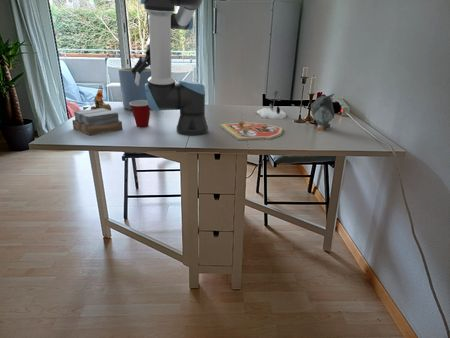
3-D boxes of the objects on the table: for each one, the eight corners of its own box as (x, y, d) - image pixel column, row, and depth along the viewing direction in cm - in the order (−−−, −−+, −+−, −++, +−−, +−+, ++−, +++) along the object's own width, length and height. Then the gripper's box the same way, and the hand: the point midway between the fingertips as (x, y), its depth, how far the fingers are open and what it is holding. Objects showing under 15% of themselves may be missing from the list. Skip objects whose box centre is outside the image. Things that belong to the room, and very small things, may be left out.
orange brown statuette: (105, 112, 178) (102, 88, 172) (118, 119, 163) (116, 93, 158) (90, 114, 173) (87, 89, 167) (103, 121, 158) (100, 94, 153)
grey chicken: (300, 127, 161) (305, 93, 154) (316, 123, 171) (321, 91, 164) (324, 133, 151) (330, 97, 145) (340, 129, 161) (346, 94, 154)
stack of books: (122, 129, 145) (121, 112, 142) (89, 135, 133) (87, 117, 130) (105, 123, 154) (103, 107, 151) (73, 128, 143) (70, 111, 140)
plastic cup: (126, 126, 150) (124, 102, 146) (141, 122, 159) (139, 99, 155) (143, 129, 146) (141, 104, 141) (157, 125, 155) (156, 101, 150)
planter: (159, 110, 188) (158, 71, 179) (121, 111, 182) (117, 70, 173) (157, 104, 208) (155, 68, 199) (122, 104, 202) (119, 67, 193)
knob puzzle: (217, 126, 159) (217, 118, 157) (267, 123, 169) (268, 115, 167) (239, 142, 134) (240, 132, 132) (296, 138, 144) (298, 129, 142)
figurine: (254, 110, 197) (257, 84, 189) (282, 111, 198) (286, 86, 190) (259, 120, 179) (262, 92, 172) (289, 121, 180) (294, 94, 173)
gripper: (179, 51, 158) (176, 84, 150) (135, 57, 163) (129, 90, 155) (174, 40, 151) (170, 74, 143) (128, 47, 156) (122, 80, 148)
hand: (149, 82), depth 149 cm, fingers open, 13 cm apart
